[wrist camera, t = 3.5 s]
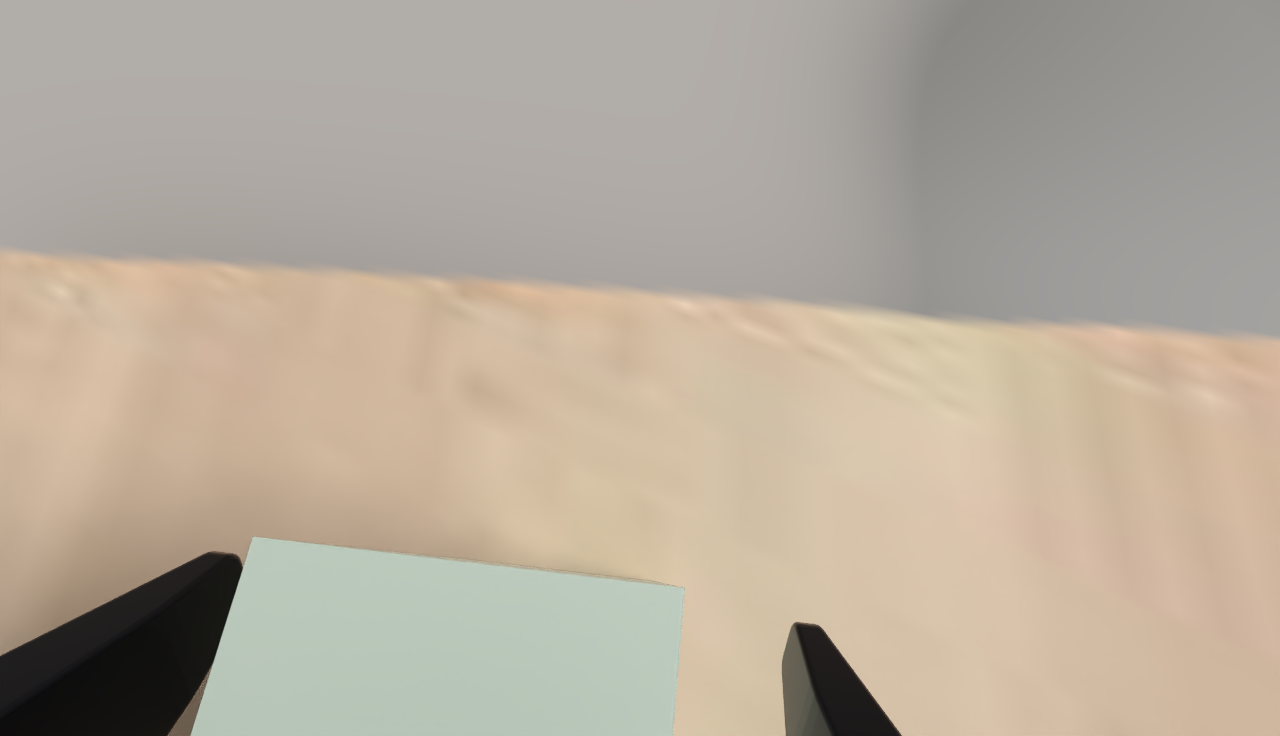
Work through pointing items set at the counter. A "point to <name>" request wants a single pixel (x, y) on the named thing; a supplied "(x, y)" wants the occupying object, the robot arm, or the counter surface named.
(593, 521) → the counter surface
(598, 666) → the rectangular block
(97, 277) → the counter surface
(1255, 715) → the counter surface
